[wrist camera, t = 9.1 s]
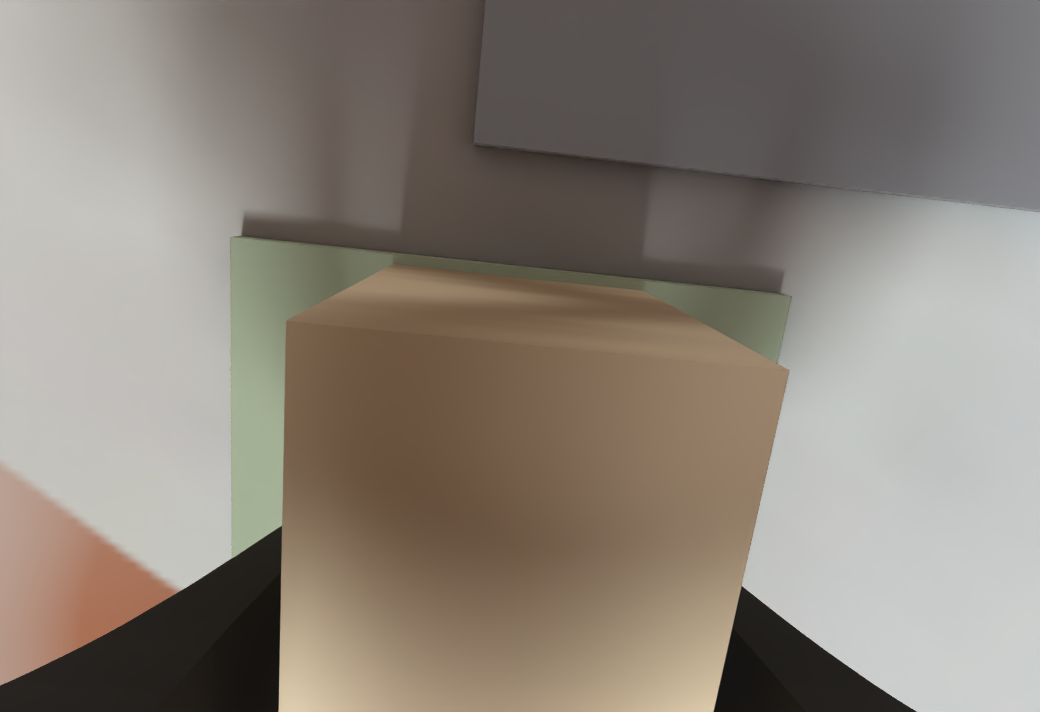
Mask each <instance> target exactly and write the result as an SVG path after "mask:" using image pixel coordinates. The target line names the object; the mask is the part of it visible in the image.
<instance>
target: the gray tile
mask: <svg viewBox="0 0 1040 712" xmlns="http://www.w3.org/2000/svg"><path fill="white" fill-rule="evenodd" d="M473 143H474V145H478V146H487V147H495V148H504V149H512V150H521V151H529V152H537V153H546V154H554V155H563V156H571V157H580V158H588V159H597V160H605V161H613V162H622V163H630V164H639V165H647V166H656V167H664V168H673V169H681V170H689V171H698V172H706V173H715V174H723V175H732V176H740V177H749V178H757V179H765V180H774V181H782V182H791V183H799V184H808V185H816V186H825V187H833V188H841V189H850V190H858V191H867V192H875V193H884V194H892V195H901V196H909V197H918V198H926V199H934V200H943V201H951V202H960V203H968V204H977V205H985V206H994V207H1002V208H1010V209H1019V210H1027V211H1036V212H1040V0H485V11H484V22H483V34H482V46H481V57H480V69H479V81H478V92H477V104H476V116H475V128H474V139H473Z"/></svg>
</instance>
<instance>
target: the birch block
mask: <svg viewBox="0 0 1040 712" xmlns="http://www.w3.org/2000/svg"><path fill="white" fill-rule="evenodd" d="M788 375H789V370H788V369H786V368H784V367H782V366H780V365H778V364H777V363H775V362H773V361H771V360H769V359H768V358H766V357H764V356H762V355H760V354H758V353H757V352H755V351H753V350H751V349H749V348H747V347H746V346H744V345H742V344H740V343H738V342H737V341H735V340H733V339H731V338H729V337H727V336H726V335H724V334H722V333H720V332H718V331H716V330H715V329H713V328H711V327H709V326H707V325H706V324H704V323H702V322H700V321H698V320H696V319H695V318H693V317H691V316H689V315H687V314H685V313H684V312H682V311H680V310H678V309H676V308H675V307H673V306H671V305H669V304H667V303H665V302H664V301H662V300H660V299H658V298H656V297H654V296H653V295H651V294H649V293H647V292H645V291H641V290H632V289H622V288H613V287H603V286H594V285H584V284H575V283H565V282H556V281H547V280H537V279H528V278H518V277H509V276H499V275H490V274H481V273H471V272H462V271H452V270H443V269H433V268H424V267H415V266H405V265H396V264H392V265H390V266H388V267H387V268H385V269H383V270H381V271H379V272H377V273H375V274H373V275H371V276H370V277H368V278H366V279H364V280H362V281H360V282H358V283H356V284H354V285H353V286H351V287H349V288H347V289H345V290H343V291H341V292H339V293H337V294H336V295H334V296H332V297H330V298H328V299H326V300H324V301H322V302H320V303H319V304H317V305H315V306H313V307H311V308H309V309H307V310H305V311H303V312H302V313H300V314H298V315H296V316H294V317H292V318H290V319H288V320H286V346H285V400H284V453H283V507H282V561H281V614H280V668H279V712H714V707H715V703H716V698H717V694H718V689H719V685H720V680H721V676H722V671H723V667H724V662H725V658H726V653H727V649H728V644H729V640H730V635H731V631H732V626H733V622H734V617H735V613H736V608H737V604H738V599H739V595H740V590H741V586H742V581H743V577H744V572H745V568H746V563H747V559H748V554H749V550H750V546H751V541H752V537H753V532H754V528H755V523H756V519H757V514H758V510H759V505H760V501H761V496H762V492H763V487H764V483H765V478H766V474H767V469H768V465H769V460H770V456H771V451H772V447H773V442H774V438H775V433H776V429H777V424H778V420H779V415H780V411H781V406H782V402H783V397H784V393H785V388H786V384H787V379H788Z"/></svg>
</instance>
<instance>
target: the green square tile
mask: <svg viewBox="0 0 1040 712" xmlns="http://www.w3.org/2000/svg"><path fill="white" fill-rule="evenodd" d="M230 261H231V491H232V558H233V557H235V556H237V555H238V554H240V553H241V552H243V551H244V550H246V549H247V548H249V547H250V546H252V545H253V544H255V543H256V542H258V541H259V540H261V539H262V538H264V537H265V536H267V535H268V534H270V533H271V532H273V531H274V530H276V529H277V528H279V527H281V526H282V507H283V453H284V400H285V346H286V320H288V319H290V318H292V317H294V316H296V315H298V314H300V313H302V312H303V311H305V310H307V309H309V308H311V307H313V306H315V305H317V304H319V303H320V302H322V301H324V300H326V299H328V298H330V297H332V296H334V295H336V294H337V293H339V292H341V291H343V290H345V289H347V288H349V287H351V286H353V285H354V284H356V283H358V282H360V281H362V280H364V279H366V278H368V277H370V276H371V275H373V274H375V273H377V272H379V271H381V270H383V269H385V268H387V267H388V266H390V265H392V264H396V265H405V266H415V267H424V268H433V269H443V270H452V271H462V272H471V273H481V274H490V275H499V276H509V277H518V278H528V279H537V280H547V281H556V282H565V283H575V284H584V285H594V286H603V287H613V288H622V289H632V290H641V291H645V292H647V293H649V294H651V295H653V296H654V297H656V298H658V299H660V300H662V301H664V302H665V303H667V304H669V305H671V306H673V307H675V308H676V309H678V310H680V311H682V312H684V313H685V314H687V315H689V316H691V317H693V318H695V319H696V320H698V321H700V322H702V323H704V324H706V325H707V326H709V327H711V328H713V329H715V330H716V331H718V332H720V333H722V334H724V335H726V336H727V337H729V338H731V339H733V340H735V341H737V342H738V343H740V344H742V345H744V346H746V347H747V348H749V349H751V350H753V351H755V352H757V353H758V354H760V355H762V356H764V357H766V358H768V359H769V360H771V361H773V362H775V363H777V362H778V358H779V353H780V348H781V344H782V339H783V334H784V330H785V325H786V321H787V316H788V311H789V307H790V302H791V297H792V296H788V295H785V294H781V293H772V292H762V291H753V290H744V289H734V288H725V287H715V286H706V285H696V284H687V283H678V282H668V281H659V280H649V279H640V278H630V277H621V276H612V275H602V274H593V273H583V272H574V271H564V270H555V269H546V268H536V267H527V266H517V265H508V264H499V263H489V262H480V261H470V260H461V259H451V258H442V257H433V256H423V255H414V254H404V253H395V252H385V251H376V250H367V249H357V248H348V247H338V246H329V245H319V244H310V243H301V242H291V241H282V240H272V239H263V238H254V237H244V236H236V237H230Z"/></svg>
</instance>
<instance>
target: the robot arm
mask: <svg viewBox="0 0 1040 712" xmlns="http://www.w3.org/2000/svg"><path fill="white" fill-rule="evenodd" d="M281 561H282V526H281V527H279V528H277V529H276V530H274V531H273V532H271V533H270V534H268V535H267V536H265V537H264V538H262V539H261V540H259V541H258V542H256V543H255V544H253V545H252V546H250V547H249V548H247V549H246V550H244V551H243V552H241V553H240V554H238V555H237V556H235V557H233V558H232V559H230V560H229V561H227V562H226V563H224V564H223V565H221V566H220V567H218V568H216V569H215V570H213V571H212V572H210V573H209V574H207V575H206V576H204V577H203V578H201V579H199V580H198V581H196V582H195V583H193V584H192V585H190V586H188V587H187V588H185V589H183V590H182V591H180V592H178V593H176V594H175V595H173V596H171V597H170V598H168V599H166V600H165V601H163V602H161V603H160V604H158V605H156V606H155V607H153V608H151V609H149V610H148V611H146V612H144V613H142V614H141V615H139V616H137V617H136V618H134V619H132V620H131V621H129V622H127V623H125V624H124V625H122V626H120V627H118V628H116V629H115V630H113V631H111V632H109V633H107V634H105V635H103V636H102V637H100V638H98V639H96V640H94V641H92V642H90V643H88V644H86V645H84V646H83V647H81V648H78V649H76V650H75V651H72V652H71V653H69V654H66V655H64V656H63V657H60V658H58V659H56V660H54V661H52V662H50V663H48V664H46V665H44V666H42V667H40V668H38V669H36V670H34V671H32V672H30V673H27V674H25V675H23V676H21V677H19V678H16V679H15V680H12V681H10V682H8V683H5V684H3V685H1V686H0V712H279V668H280V614H281ZM714 712H916V711H915V710H913V709H911V708H910V707H908V706H906V705H905V704H903V703H902V702H900V701H898V700H897V699H895V698H894V697H892V696H891V695H889V694H888V693H886V692H885V691H883V690H882V689H880V688H878V687H877V686H875V685H874V684H872V683H871V682H869V681H868V680H867V679H865V678H864V677H862V676H861V675H859V674H858V673H857V672H855V671H854V670H852V669H851V668H849V667H848V666H847V665H845V664H844V663H842V662H841V661H840V660H838V659H837V658H835V657H834V656H832V655H831V654H830V653H828V652H827V651H825V650H824V649H823V648H821V647H820V646H819V645H817V644H816V643H815V642H813V641H812V640H811V639H809V638H808V637H806V636H805V635H804V634H802V633H801V632H800V631H799V630H797V629H796V628H795V627H793V626H792V625H791V624H789V623H788V622H787V621H785V620H784V619H783V618H782V617H780V616H779V615H778V614H776V613H775V612H774V611H773V610H771V609H770V608H769V607H767V606H766V605H765V604H764V603H762V602H761V601H760V600H759V599H757V598H756V597H755V596H754V595H752V594H751V593H750V592H748V591H747V590H746V589H745V588H743V587H742V586H741V590H740V595H739V599H738V604H737V608H736V613H735V617H734V622H733V626H732V631H731V635H730V640H729V644H728V649H727V653H726V658H725V662H724V667H723V671H722V676H721V680H720V685H719V689H718V694H717V698H716V703H715V707H714Z"/></svg>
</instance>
